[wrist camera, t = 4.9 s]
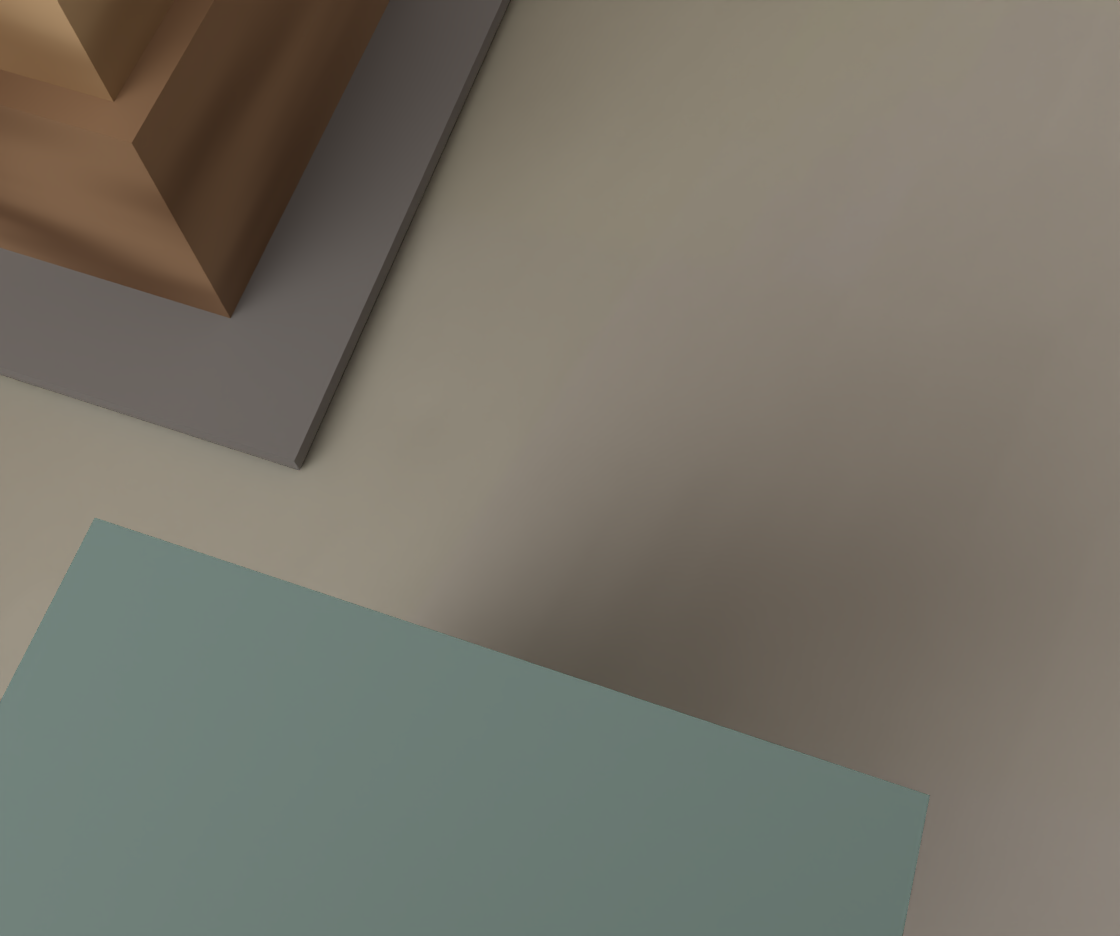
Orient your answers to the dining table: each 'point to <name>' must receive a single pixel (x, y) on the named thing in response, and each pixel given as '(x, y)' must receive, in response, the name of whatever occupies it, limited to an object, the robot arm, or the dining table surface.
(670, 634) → the dining table surface
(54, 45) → the oak block
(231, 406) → the felt mat
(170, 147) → the walnut block
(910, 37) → the dining table surface
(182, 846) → the teal block
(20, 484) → the dining table surface
